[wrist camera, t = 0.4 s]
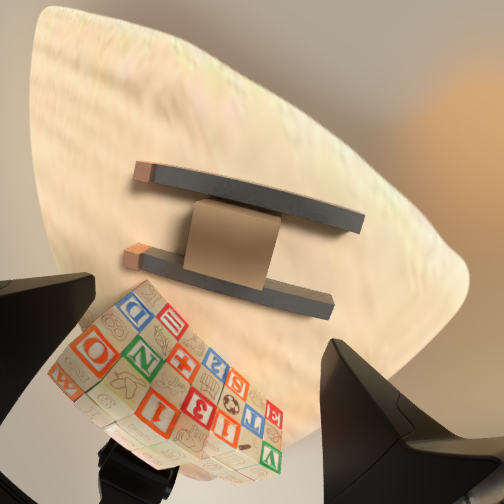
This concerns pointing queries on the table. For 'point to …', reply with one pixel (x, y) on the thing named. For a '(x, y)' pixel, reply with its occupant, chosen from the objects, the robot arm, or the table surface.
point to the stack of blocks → (169, 393)
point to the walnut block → (231, 242)
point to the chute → (247, 193)
